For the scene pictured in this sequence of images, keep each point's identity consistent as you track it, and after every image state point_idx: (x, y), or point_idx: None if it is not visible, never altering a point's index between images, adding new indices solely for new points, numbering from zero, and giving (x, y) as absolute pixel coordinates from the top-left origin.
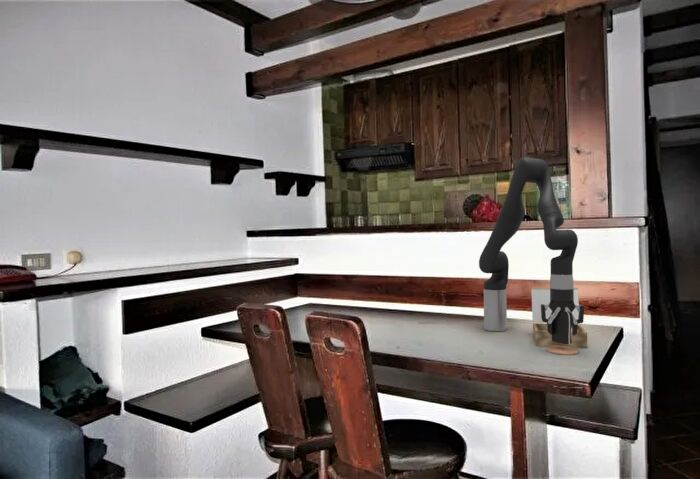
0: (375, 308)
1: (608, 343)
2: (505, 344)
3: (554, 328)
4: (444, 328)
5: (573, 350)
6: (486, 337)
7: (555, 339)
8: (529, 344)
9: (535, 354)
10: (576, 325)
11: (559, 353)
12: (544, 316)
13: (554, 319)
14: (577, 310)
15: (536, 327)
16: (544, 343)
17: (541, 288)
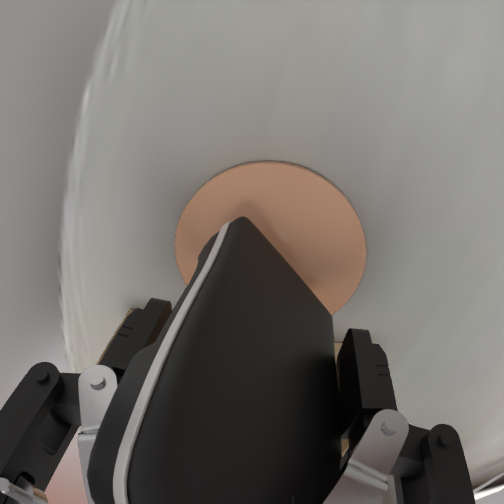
0: (492, 487)
1: (71, 355)
2: (485, 350)
3: (323, 381)
4: (499, 445)
5: (205, 225)
6: (476, 411)
7: (315, 304)
8: (392, 363)
9: (460, 176)
10: (105, 364)
11: (314, 173)
12: (446, 479)
13: (322, 465)
14: (31, 495)
15: (343, 453)
16: (337, 353)
17: None
